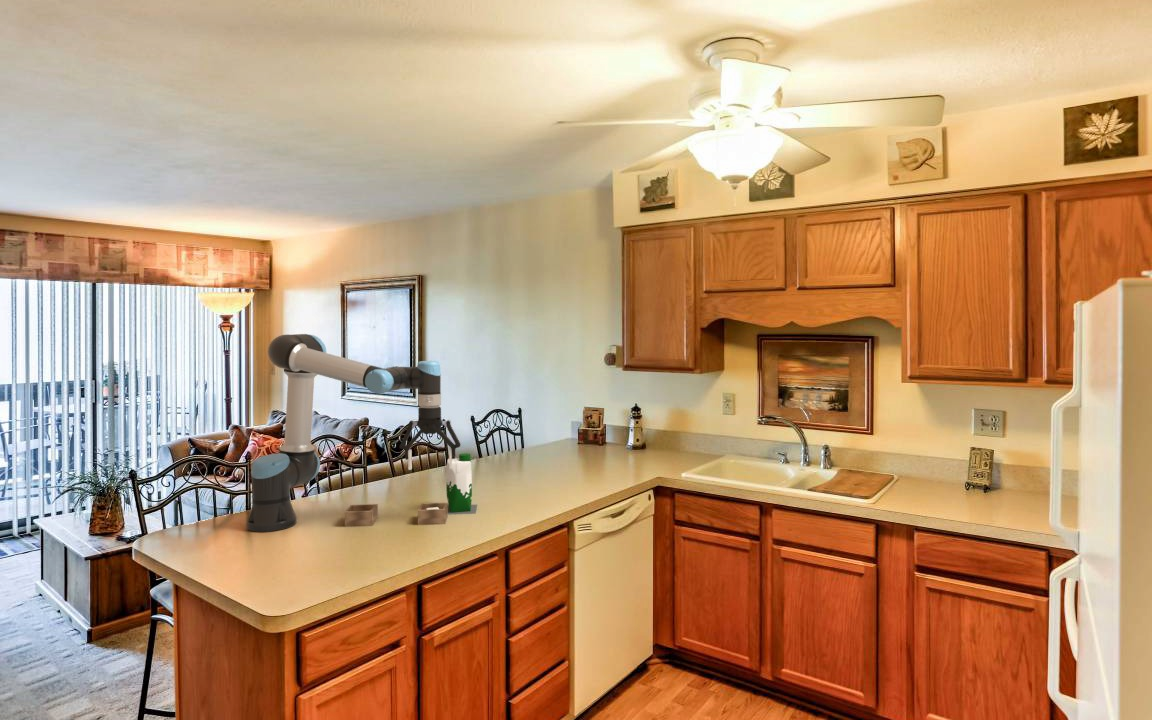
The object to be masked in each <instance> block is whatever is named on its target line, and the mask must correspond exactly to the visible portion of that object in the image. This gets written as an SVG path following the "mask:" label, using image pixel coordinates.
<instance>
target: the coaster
mask: <svg viewBox="0 0 1152 720" xmlns="http://www.w3.org/2000/svg"><path fill="white" fill-rule="evenodd" d="M477 508H478V504H471V511H466V512H454V513H451V512H450V509H449V505H448V516H449V515H474V514H476V513H477Z"/></svg>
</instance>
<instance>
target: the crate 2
mask: <svg viewBox="0 0 1152 720" xmlns="http://www.w3.org/2000/svg"><path fill="white" fill-rule="evenodd" d="M448 506H449V505H448V502H429V503H428V502H427V503H426V502H425V503H423V502H422V503H421V504H420V505H419V507H418V508H417V526H424V525H425V526H434V525H446V523H447V519H448V518H449V517H448V516H449V515H448ZM433 507H438V508H439V509H430V510H426V508H433Z"/></svg>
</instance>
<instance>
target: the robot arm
mask: <svg viewBox="0 0 1152 720" xmlns="http://www.w3.org/2000/svg"><path fill="white" fill-rule="evenodd" d="M267 355H268V358H269V360H270V362H271V363H272V365H274V366H275V367H277V368H280V369H282V370H283V373H284V374H285V375H286V376H287V387H286V388H287V391H286V409H285V410H286V411H285V426H284V427H285V430H284V443H283V444H282V445H281V446H279V450H278V451H279V452H278V453H271V454H270V453H269V454H268V455H267V454H266V455H262V456H260V457H259V456H258V457H257V458H256V459H253V461H252V462H251V465H250V466H251V467H250V468H251V471H250V477H251V503H252V505H251V508H250V512H249V515H248V518H247V522H246V528H247V530H248V531H251V532H254V533H255V532H256V533H265V532H275V531H281V530H287V529H289V528H291V527H294V526H295V525H296V524H297V515H296V512H295V509H294V507H293V504H292V502H291V489H293V488H296V487H299V486H301V485H305V484H307V483H309V482H310V481H312V480H313V479H315V478H316V476H317V475H318V474H319V472H320V469H321V462H320V461H321V460H320V457H318V453H316V452H315V449H316V447H315V446H314V444H312V442H311V440H312V439H311V438H312V424H313V422H312V421H313V407H314V406H313V405H314V388H315V387H314V386H315V377H317V375H318V376H321V377H325V378H328V379H332V380H337V381H340V382H345V383H347V384H350V385H351V384H352V385H355V386H358V387H361V388H366V389H367V390H368V391H370V392H371V393H373V394H385V393H388V392H392V391H393V392H394V391H399V390H405V389H406V390H407V389H408V390H410V389H411V390H417V395H418V397H417V399H418V400H417V405H418V408H417V410H418V413H417V414H418V415H417V416H418V420H417V421H415V420H410V421H409V422H408V428H407V430H406V432H405V434H404V436H403V438H402V441H401V442H400V445H399V449H401V450H404V458H405V460H407V461H408V467H407V468H408V470H409V471H411V470H412V469H413V458H412V457H413V456H412V453H413V451H412V449H411V447H413V444H414V443H416V441H417V440H418V439H419V437H420V436H421V435H422V434H424V435H435V434H437V435H439V437H440V438H441V439H442V440H443V441H444V442H445V443H446V444H447V446H449V449H448V452H449V453H448V459H449V469H452V459H456V449H457V448H461V442H460V440H459V438H458V436H457V434H456V433H455V430H454V429H453V427H452V421H451V420H450V419H447V420H442V407H441V405H442V392H441V388H442V387H441V376H442V372H441V363H440V362H439V361H437V360H421V361H418V362H417V366H399V365H398V366H395V365H394V366H388V367H386V368H383V367H379V366H376V365H372V364H368V363H364V362H362V361H361V362H360V361H357V360H354V359H350V358H346V357H344V356H343V357H341V356H339V355H334V354H331V353H328V352H327V348H326V345H325V343H324V342H323V340H322V339H321V338H320V337H318V336H316V335H314V334H307V333H298V334H281V335H278V336H276V337H275V338H273V339H272V340H271V342H270V343H269V346H268V349H267ZM416 426H417V427H418V428H419V431H418V432H416V434H415V435H414V436H413V438H412V439H411V440H410V441H409V443H407V441H408V439H409V437H410V436H411V433H412V432H413V431H412V430H413V429H414V428H415V427H416ZM442 426H444V427H445V428H446V429H447V431H448V432H449V435H450V436H451V438H452V440H453V442H452V440H451V439H450V438H449V437H448V436H447V435H446V433H445V432H444V431H443V430H442V429H441V428H442ZM406 443H407V445H406Z"/></svg>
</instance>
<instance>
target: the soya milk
mask: <svg viewBox="0 0 1152 720" xmlns="http://www.w3.org/2000/svg"><path fill="white" fill-rule="evenodd" d="M445 470H446V471H445V473H446V474H445V479H446V481H445V482H446V489H445V490H446V499H447V503H448V506H449V509H450V512H451V513H454V512H466V511H471V505H472V500H473V499H472V498H473V481H472V480H473V478H472V477H473V475H472V474H473V472H472V459H471V454H470V453H460V454H459V455H458V458H456V457H455V458H454V459H452V469H449V458H448V459H447V462H446V469H445Z"/></svg>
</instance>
